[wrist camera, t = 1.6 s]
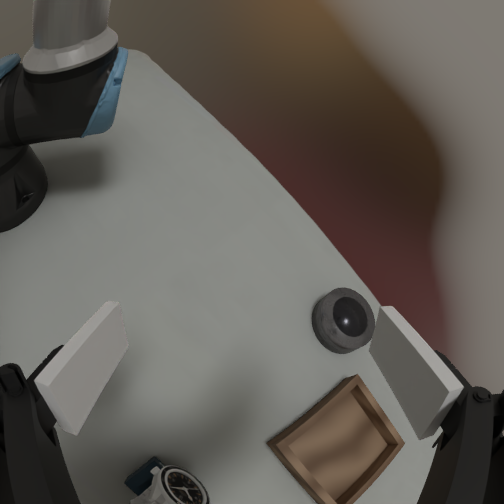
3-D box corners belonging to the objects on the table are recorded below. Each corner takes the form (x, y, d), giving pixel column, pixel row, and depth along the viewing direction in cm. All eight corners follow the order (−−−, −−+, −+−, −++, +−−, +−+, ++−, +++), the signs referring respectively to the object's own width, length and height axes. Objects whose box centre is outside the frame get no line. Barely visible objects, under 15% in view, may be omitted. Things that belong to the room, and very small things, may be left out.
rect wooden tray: (266, 443, 25) (275, 444, 23) (345, 378, 33) (357, 373, 31) (326, 512, 21) (338, 516, 18) (391, 444, 28) (405, 443, 26)
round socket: (301, 307, 37) (312, 297, 35) (344, 290, 41) (356, 280, 39) (330, 364, 33) (343, 358, 31) (371, 339, 38) (384, 332, 35)
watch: (205, 478, 21) (229, 507, 12) (155, 517, 16) (156, 560, 8) (166, 445, 22) (169, 461, 14) (116, 483, 17) (95, 514, 9)
